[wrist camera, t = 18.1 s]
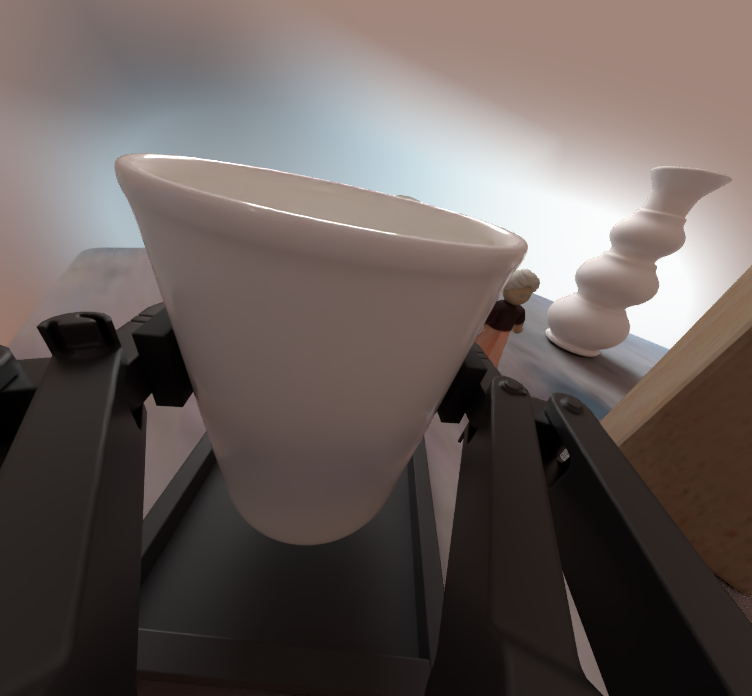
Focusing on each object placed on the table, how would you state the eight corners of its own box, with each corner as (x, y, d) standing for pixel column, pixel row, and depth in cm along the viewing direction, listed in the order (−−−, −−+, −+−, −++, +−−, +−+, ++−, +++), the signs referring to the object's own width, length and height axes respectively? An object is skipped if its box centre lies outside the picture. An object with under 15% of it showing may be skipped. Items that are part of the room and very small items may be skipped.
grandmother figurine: (467, 388, 30) (524, 277, 23) (443, 366, 32) (488, 261, 25) (507, 374, 34) (566, 277, 27) (484, 356, 36) (532, 264, 29)
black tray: (67, 672, 10) (40, 662, 9) (243, 399, 22) (242, 380, 21) (440, 708, 11) (459, 702, 10) (414, 428, 23) (421, 412, 22)
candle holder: (444, 469, 15) (572, 244, 8) (276, 656, 8) (263, 269, 2) (334, 372, 20) (360, 185, 13) (175, 438, 13) (77, 134, 7)
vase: (615, 374, 40) (789, 177, 26) (538, 347, 42) (661, 154, 29) (594, 343, 48) (716, 183, 35) (532, 322, 51) (623, 166, 37)
